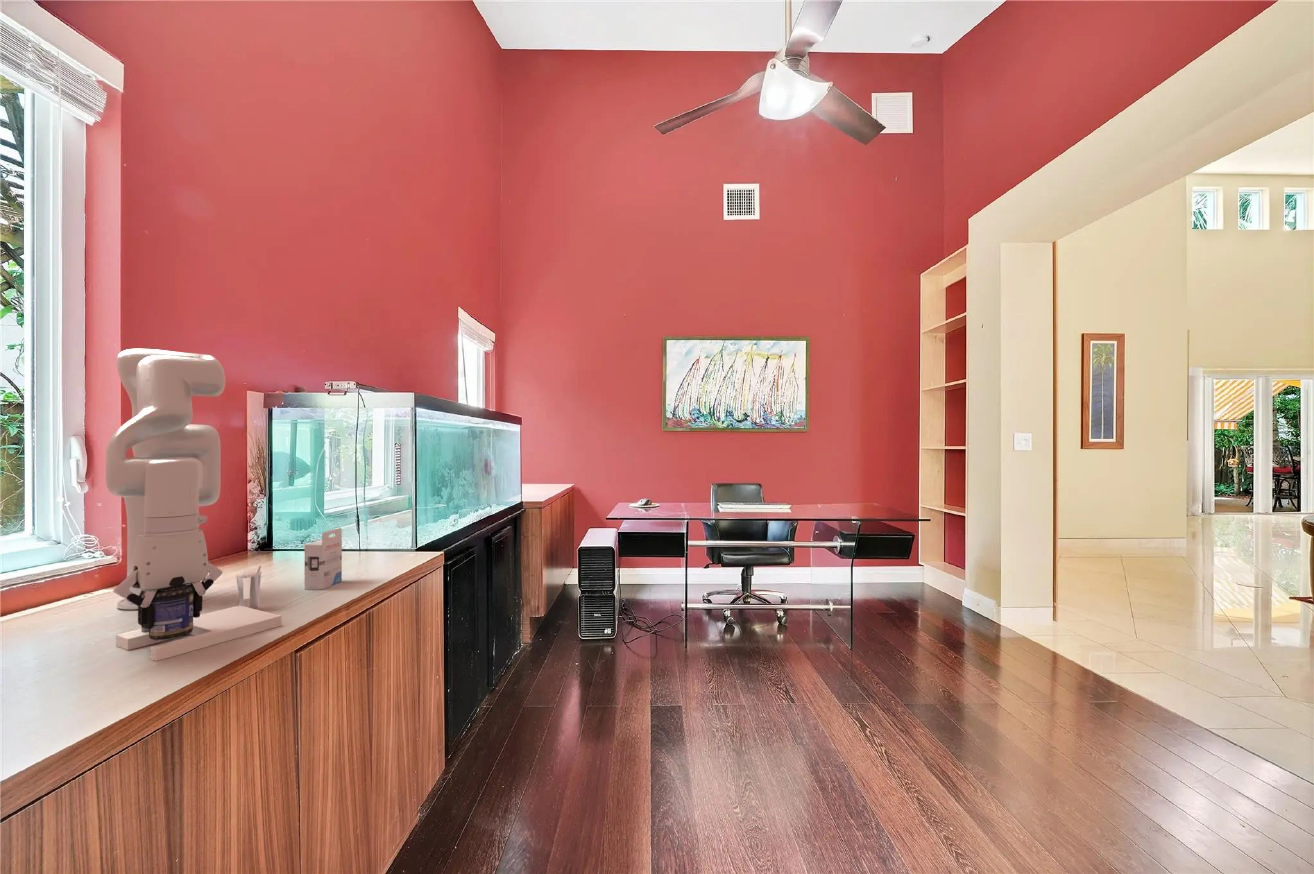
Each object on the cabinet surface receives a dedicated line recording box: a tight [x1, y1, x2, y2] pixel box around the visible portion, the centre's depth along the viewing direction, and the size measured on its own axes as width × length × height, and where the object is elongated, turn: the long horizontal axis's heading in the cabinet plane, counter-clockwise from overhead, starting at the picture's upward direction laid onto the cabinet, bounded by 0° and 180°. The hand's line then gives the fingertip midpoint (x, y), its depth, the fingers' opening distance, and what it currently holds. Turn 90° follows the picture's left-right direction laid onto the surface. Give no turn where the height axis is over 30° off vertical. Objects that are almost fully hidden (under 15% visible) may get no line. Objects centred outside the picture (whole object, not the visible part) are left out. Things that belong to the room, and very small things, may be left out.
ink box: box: [303, 527, 343, 591], centre depth 141 cm, size 9×5×15 cm, turn 179°
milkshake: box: [235, 565, 262, 610], centre depth 120 cm, size 4×5×10 cm
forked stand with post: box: [115, 586, 282, 662], centre depth 104 cm, size 16×20×12 cm
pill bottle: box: [149, 576, 193, 641], centre depth 98 cm, size 6×6×11 cm
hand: (171, 621), depth 98 cm, fingers closed on pill bottle, 6 cm apart
